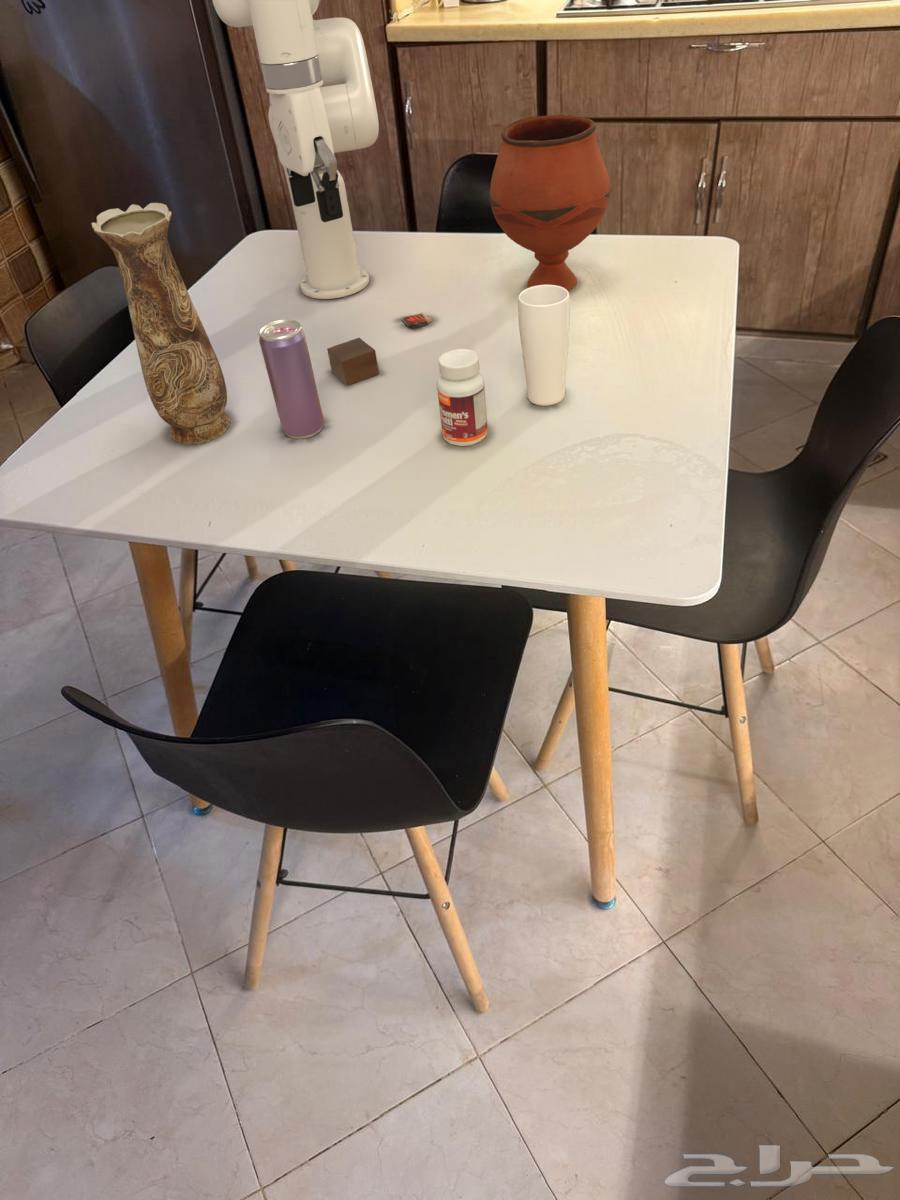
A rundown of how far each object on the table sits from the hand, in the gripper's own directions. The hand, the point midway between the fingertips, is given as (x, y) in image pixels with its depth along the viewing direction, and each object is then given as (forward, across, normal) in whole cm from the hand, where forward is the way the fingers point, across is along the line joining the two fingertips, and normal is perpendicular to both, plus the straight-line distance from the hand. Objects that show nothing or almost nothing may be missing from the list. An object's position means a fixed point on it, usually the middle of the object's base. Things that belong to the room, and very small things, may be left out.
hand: (318, 211), depth 125 cm
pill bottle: (+23, +33, +2) cm, 40 cm away
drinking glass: (+22, +32, +16) cm, 42 cm away
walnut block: (+22, +7, -2) cm, 23 cm away
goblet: (+22, +1, +39) cm, 45 cm away
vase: (+22, +7, -27) cm, 36 cm away
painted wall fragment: (+22, -2, +14) cm, 26 cm away
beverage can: (+22, +17, -15) cm, 32 cm away
